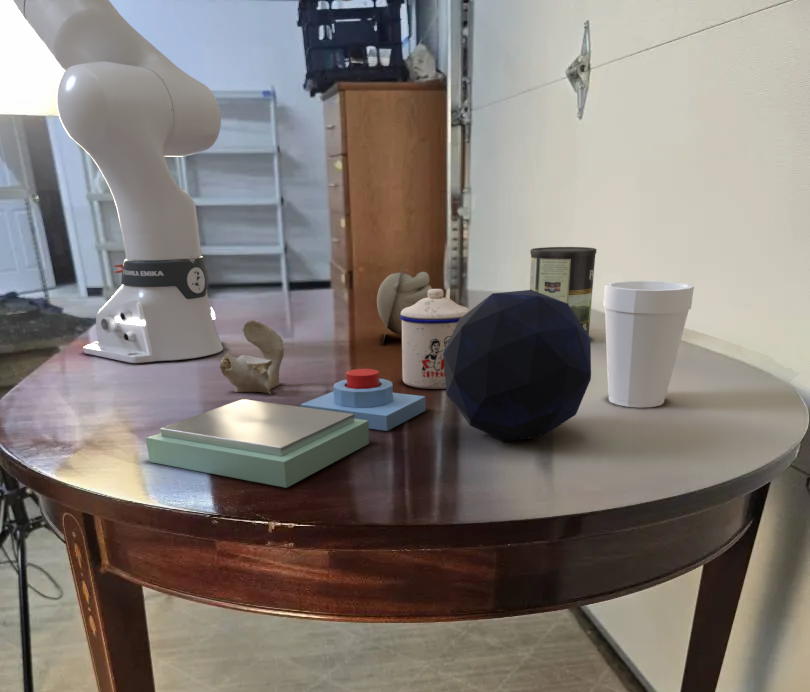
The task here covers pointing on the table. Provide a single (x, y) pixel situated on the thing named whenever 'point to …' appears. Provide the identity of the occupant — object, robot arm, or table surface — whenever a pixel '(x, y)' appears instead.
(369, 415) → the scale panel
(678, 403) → the table surface
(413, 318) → the teacup with lid
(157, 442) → the scale
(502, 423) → the decorative orb
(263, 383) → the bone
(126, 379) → the table surface
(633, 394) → the foam cup
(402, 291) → the decorative object
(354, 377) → the button
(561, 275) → the coffee can
